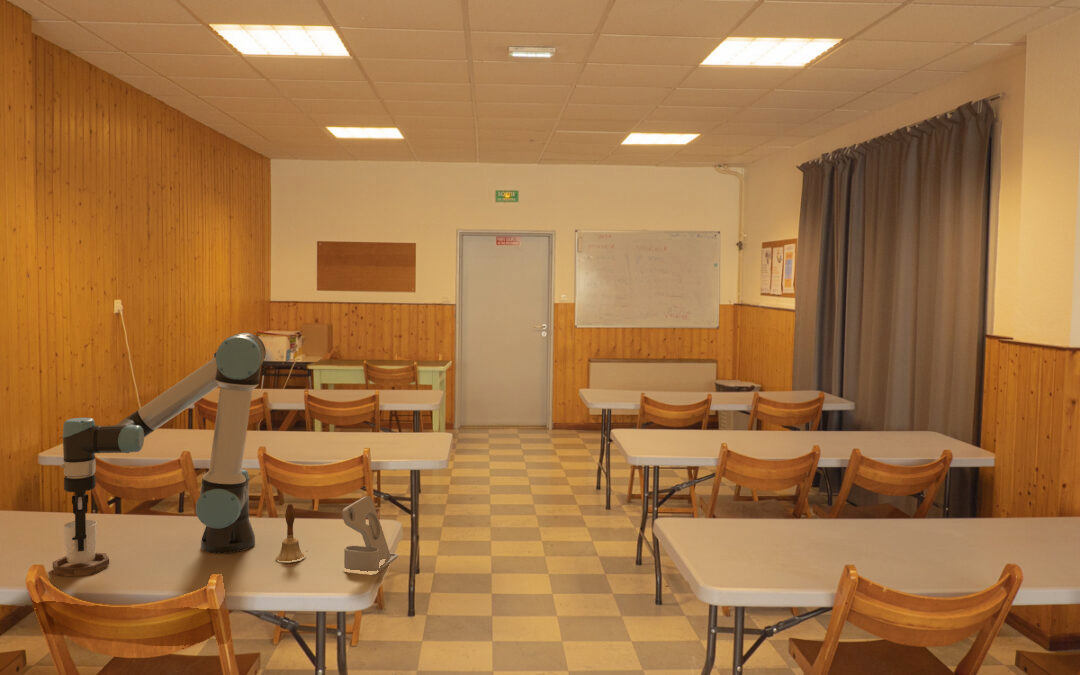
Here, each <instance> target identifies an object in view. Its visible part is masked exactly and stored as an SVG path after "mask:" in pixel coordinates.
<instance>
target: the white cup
mask: <svg viewBox="0 0 1080 675" xmlns="http://www.w3.org/2000/svg"><path fill="white" fill-rule="evenodd" d="M97 526H98V522H97V520H94V519H86V539H87V562H89V561H91V560H93V559H94V558H95V553H96V548H97V533H98V532H97V531H98V530H97V529H98V527H97ZM63 532H64V533H63V534H64V545H65V553H66V555H65V556H67V562H69V563H75V540H72V538H73V537H75V520H73V521H69V522H67V523H65V524H64V525H63ZM81 563H85V562H81Z"/></svg>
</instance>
